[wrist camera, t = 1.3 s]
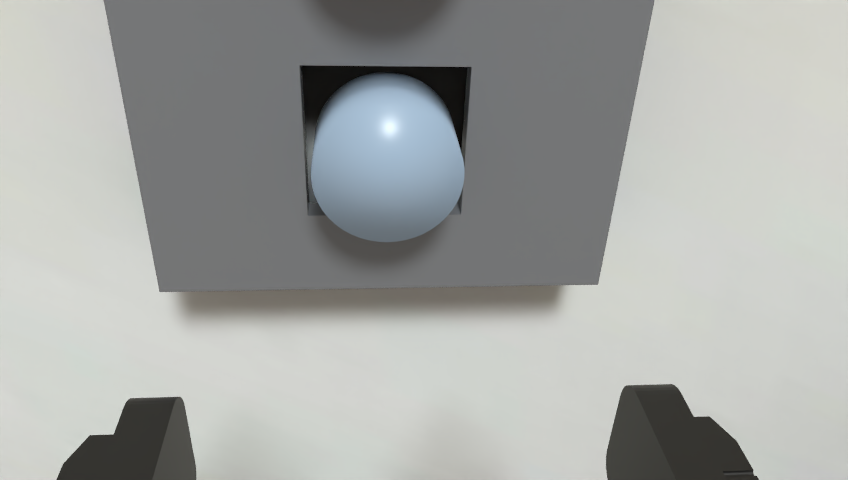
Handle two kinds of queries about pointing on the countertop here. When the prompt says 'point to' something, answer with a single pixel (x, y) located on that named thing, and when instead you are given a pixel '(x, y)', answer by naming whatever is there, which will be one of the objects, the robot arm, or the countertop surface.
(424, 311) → the countertop surface
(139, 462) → the robot arm
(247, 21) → the button box
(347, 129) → the blue button
